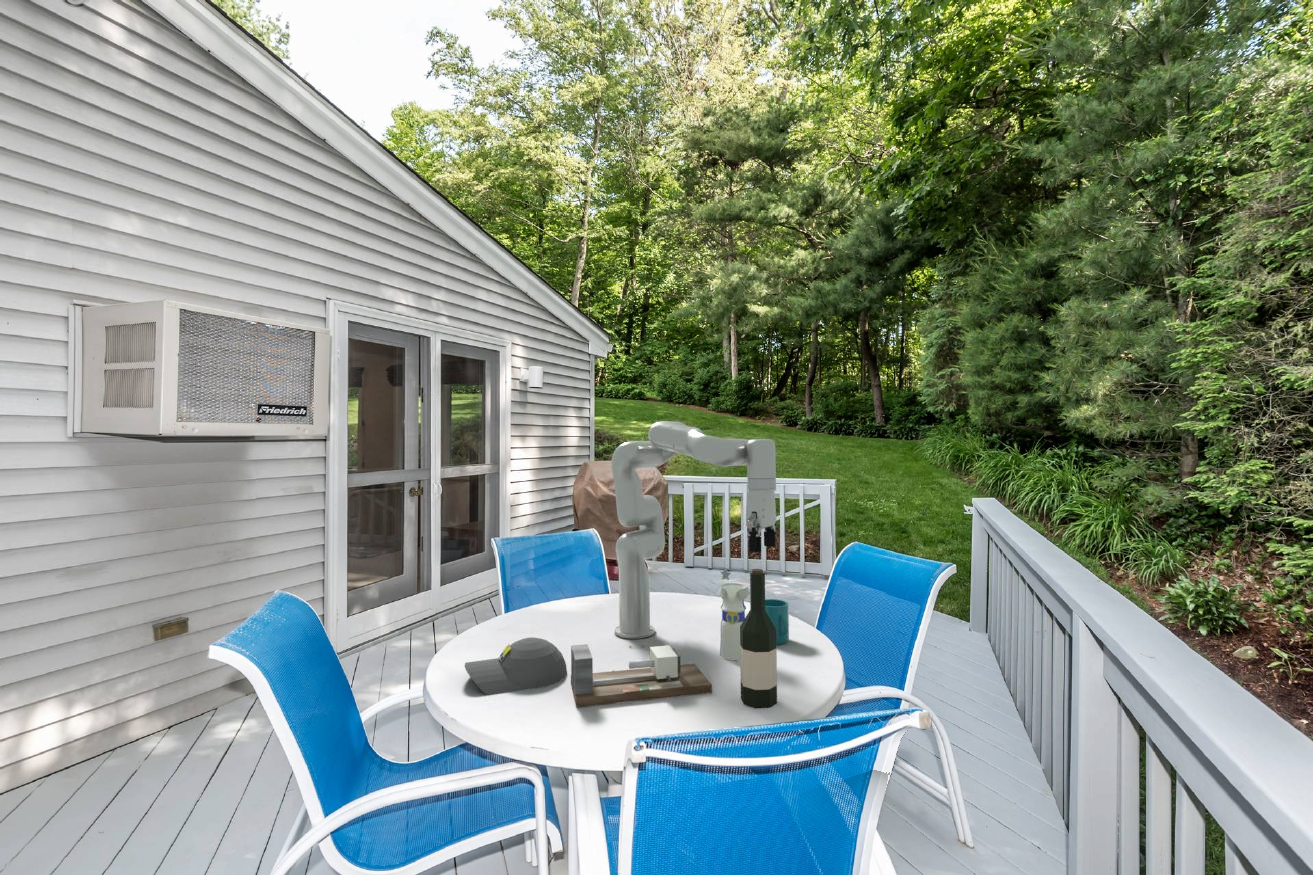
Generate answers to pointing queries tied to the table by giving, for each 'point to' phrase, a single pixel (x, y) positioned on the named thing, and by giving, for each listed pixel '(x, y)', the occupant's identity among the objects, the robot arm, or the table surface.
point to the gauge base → (628, 682)
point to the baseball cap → (519, 667)
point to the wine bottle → (758, 650)
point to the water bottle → (732, 617)
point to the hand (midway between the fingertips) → (762, 548)
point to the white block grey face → (661, 662)
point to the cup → (779, 618)
